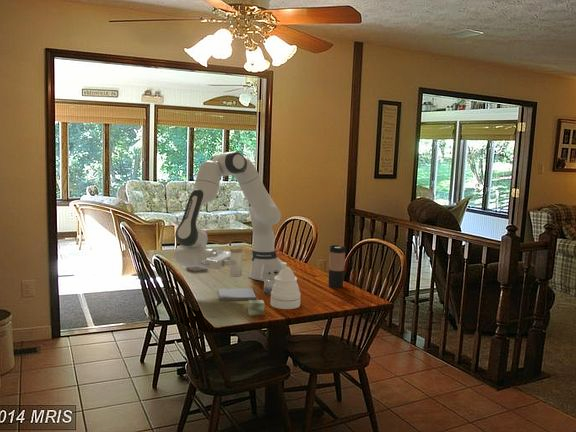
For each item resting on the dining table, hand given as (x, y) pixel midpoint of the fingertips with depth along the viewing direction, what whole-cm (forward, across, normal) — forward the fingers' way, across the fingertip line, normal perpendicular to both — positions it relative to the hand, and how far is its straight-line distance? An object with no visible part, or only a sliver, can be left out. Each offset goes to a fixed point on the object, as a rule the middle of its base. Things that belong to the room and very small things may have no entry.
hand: (237, 261), depth 225 cm
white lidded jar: (-1, 0, +6) cm, 7 cm away
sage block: (+15, -17, +17) cm, 28 cm away
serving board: (-2, +3, +17) cm, 17 cm away
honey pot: (+22, -1, +17) cm, 28 cm away
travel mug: (+38, +37, +18) cm, 55 cm away
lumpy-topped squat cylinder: (-41, +43, +17) cm, 62 cm away
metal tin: (+11, +14, +17) cm, 24 cm away
